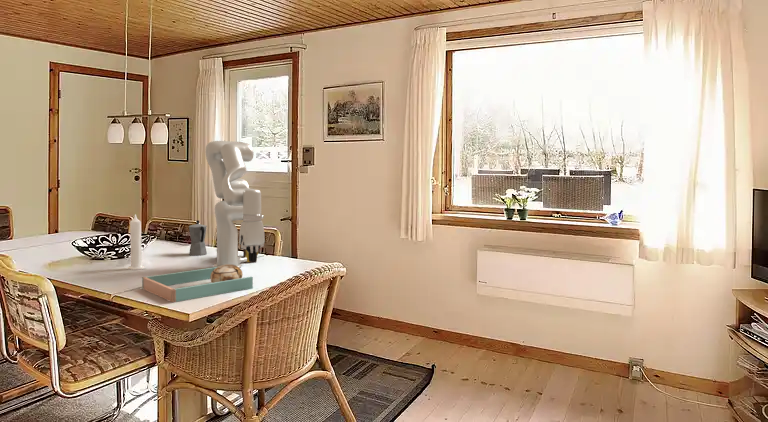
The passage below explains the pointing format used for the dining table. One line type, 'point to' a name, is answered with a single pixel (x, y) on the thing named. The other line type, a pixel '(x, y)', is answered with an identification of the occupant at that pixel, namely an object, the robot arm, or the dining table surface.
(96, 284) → the dining table surface
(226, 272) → the trinket box
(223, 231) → the robot arm
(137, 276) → the dining table surface
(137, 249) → the candle
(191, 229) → the coffeepot
